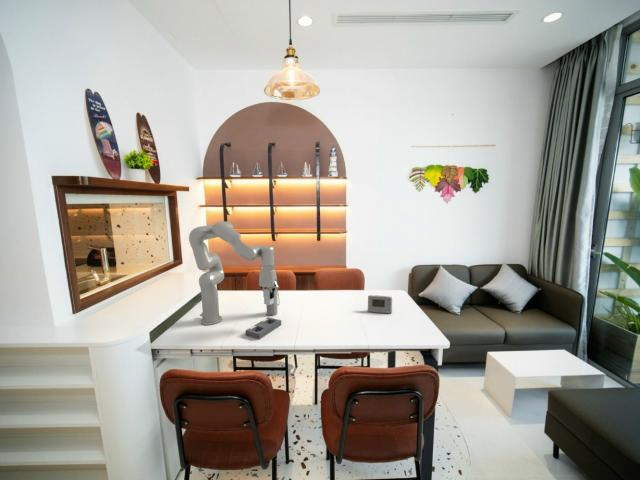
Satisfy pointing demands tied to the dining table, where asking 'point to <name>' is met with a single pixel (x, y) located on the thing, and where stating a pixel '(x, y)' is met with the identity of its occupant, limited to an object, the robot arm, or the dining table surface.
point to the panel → (263, 328)
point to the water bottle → (273, 305)
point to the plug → (268, 297)
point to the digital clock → (379, 304)
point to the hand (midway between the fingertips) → (268, 297)
